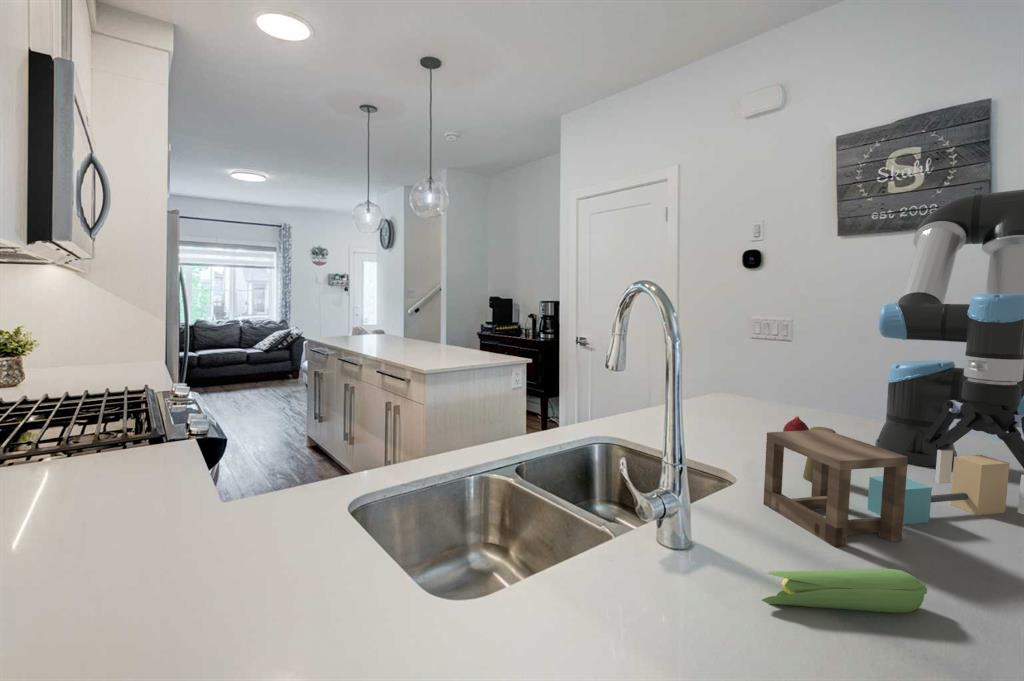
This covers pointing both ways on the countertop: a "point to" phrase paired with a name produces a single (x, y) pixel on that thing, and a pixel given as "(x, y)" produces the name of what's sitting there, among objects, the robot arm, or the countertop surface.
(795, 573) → the edible corn
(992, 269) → the robot arm
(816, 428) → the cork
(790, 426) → the onion
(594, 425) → the countertop surface
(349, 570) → the countertop surface
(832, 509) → the walnut bench
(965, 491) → the square-ended dumbbell
